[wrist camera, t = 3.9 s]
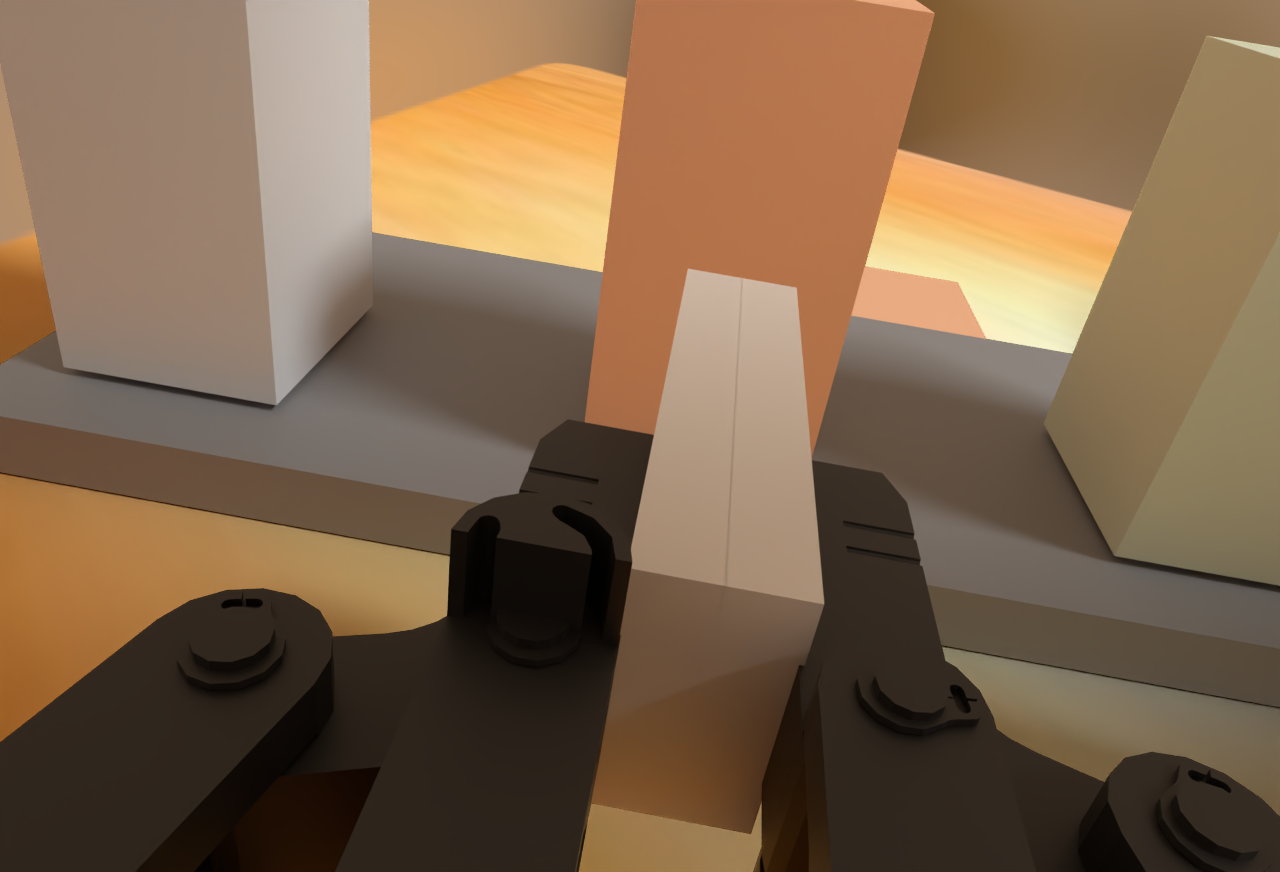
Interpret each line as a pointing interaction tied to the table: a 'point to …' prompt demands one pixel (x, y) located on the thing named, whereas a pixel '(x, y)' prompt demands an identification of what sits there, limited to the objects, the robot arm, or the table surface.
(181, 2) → the light grey block
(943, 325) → the terracotta tile
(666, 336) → the terracotta key
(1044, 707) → the table surface
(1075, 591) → the charcoal key base
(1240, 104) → the sage green block
